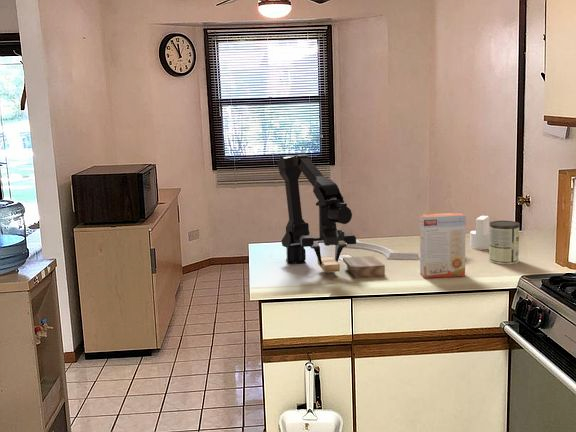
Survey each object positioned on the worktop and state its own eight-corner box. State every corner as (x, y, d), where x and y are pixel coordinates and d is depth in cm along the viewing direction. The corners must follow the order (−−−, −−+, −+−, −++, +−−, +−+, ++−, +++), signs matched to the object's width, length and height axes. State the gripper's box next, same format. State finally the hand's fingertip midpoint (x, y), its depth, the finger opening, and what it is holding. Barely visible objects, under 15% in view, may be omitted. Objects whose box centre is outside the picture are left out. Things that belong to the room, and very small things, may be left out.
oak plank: (317, 263, 218) (317, 257, 217) (331, 262, 218) (331, 256, 218) (325, 272, 206) (325, 265, 205) (339, 271, 207) (339, 264, 206)
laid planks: (351, 278, 206) (351, 267, 206) (342, 267, 220) (342, 257, 219) (384, 276, 208) (384, 265, 207) (374, 266, 221) (374, 255, 221)
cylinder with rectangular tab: (490, 250, 239) (491, 220, 237) (467, 248, 244) (467, 218, 242) (495, 245, 247) (496, 216, 245) (473, 243, 251) (474, 215, 249)
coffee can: (488, 257, 229) (488, 220, 226) (517, 258, 226) (518, 220, 224) (489, 264, 219) (490, 225, 217) (519, 265, 216) (521, 226, 214)
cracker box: (459, 272, 210) (461, 211, 206) (465, 276, 204) (466, 214, 200) (419, 273, 210) (419, 213, 206) (423, 278, 204) (424, 216, 200)
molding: (425, 260, 230) (426, 252, 230) (402, 264, 224) (402, 257, 223) (353, 241, 265) (353, 235, 265) (331, 245, 259) (331, 238, 258)
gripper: (303, 225, 200) (305, 271, 203) (359, 222, 202) (360, 268, 205) (299, 219, 211) (300, 263, 214) (352, 216, 213) (352, 260, 216)
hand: (328, 264), depth 212 cm, fingers closed on oak plank, 5 cm apart
